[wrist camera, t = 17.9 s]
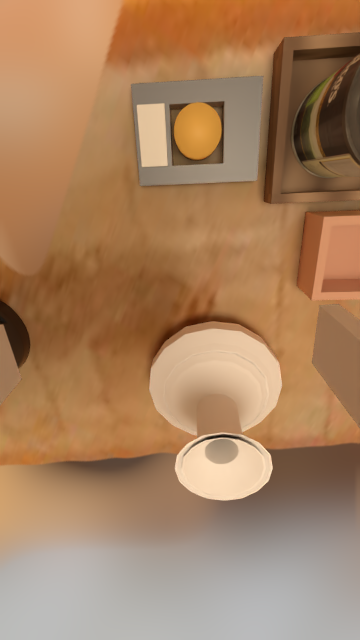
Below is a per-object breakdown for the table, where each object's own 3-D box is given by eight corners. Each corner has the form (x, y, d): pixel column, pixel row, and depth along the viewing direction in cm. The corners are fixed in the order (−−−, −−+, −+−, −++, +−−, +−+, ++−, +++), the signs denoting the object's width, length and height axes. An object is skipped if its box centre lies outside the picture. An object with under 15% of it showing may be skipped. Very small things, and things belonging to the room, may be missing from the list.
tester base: (143, 185, 39) (139, 186, 36) (135, 90, 35) (130, 82, 32) (253, 180, 38) (258, 180, 35) (258, 82, 34) (264, 73, 31)
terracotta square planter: (296, 285, 43) (311, 300, 38) (305, 212, 39) (323, 216, 34) (368, 283, 43) (393, 298, 37) (384, 209, 39) (416, 213, 33)
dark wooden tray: (263, 201, 39) (271, 203, 35) (274, 53, 33) (284, 37, 29) (383, 196, 38) (403, 197, 35) (417, 44, 32) (446, 26, 28)
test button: (176, 161, 36) (174, 159, 33) (174, 112, 34) (172, 103, 31) (218, 159, 36) (221, 157, 32) (218, 109, 34) (221, 100, 30)
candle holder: (244, 427, 55) (268, 542, 37) (138, 397, 53) (112, 503, 35) (296, 335, 47) (358, 427, 29) (173, 295, 45) (162, 368, 27)
